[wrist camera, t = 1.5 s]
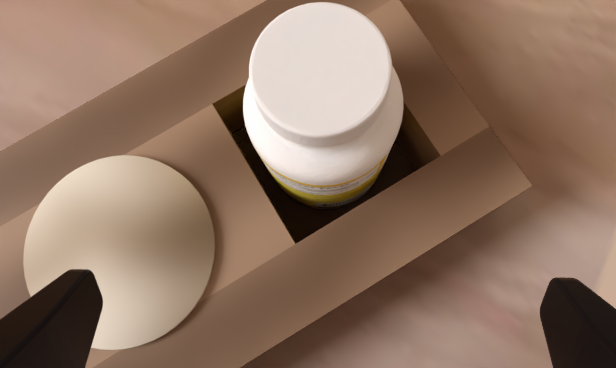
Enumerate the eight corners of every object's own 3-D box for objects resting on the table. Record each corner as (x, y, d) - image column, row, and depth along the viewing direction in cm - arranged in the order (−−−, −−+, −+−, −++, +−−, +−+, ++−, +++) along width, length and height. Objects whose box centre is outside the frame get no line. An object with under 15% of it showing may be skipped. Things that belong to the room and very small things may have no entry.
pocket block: (495, 201, 22) (535, 184, 18) (110, 440, 21) (54, 483, 16) (355, 0, 24) (362, -59, 20) (-1, 205, 23) (-76, 189, 19)
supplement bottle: (302, 81, 23) (285, -54, 14) (402, 132, 23) (456, 27, 13) (246, 177, 23) (187, 104, 13) (348, 232, 22) (364, 199, 12)
